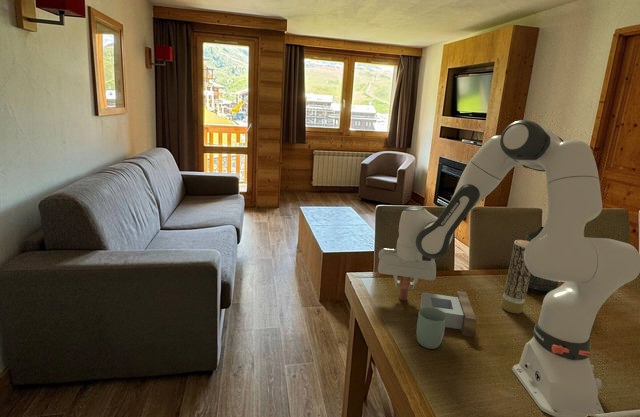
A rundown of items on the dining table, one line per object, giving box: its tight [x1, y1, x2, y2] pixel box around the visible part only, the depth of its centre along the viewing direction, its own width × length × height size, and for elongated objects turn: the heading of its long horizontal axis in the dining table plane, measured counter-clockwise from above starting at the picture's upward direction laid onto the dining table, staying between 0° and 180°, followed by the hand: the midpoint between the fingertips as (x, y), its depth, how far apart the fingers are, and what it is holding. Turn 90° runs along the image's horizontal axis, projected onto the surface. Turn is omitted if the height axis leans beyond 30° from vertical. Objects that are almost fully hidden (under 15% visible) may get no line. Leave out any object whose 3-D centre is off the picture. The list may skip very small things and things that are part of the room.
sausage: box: [398, 276, 411, 301], centre depth 136 cm, size 3×3×9 cm
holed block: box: [419, 292, 464, 330], centre depth 125 cm, size 12×12×5 cm
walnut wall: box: [455, 290, 477, 337], centre depth 124 cm, size 18×3×6 cm, turn 169°
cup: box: [415, 307, 447, 350], centre depth 109 cm, size 8×8×10 cm
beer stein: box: [525, 226, 559, 296], centre depth 148 cm, size 16×19×25 cm
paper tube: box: [501, 239, 531, 314], centre depth 130 cm, size 7×7×25 cm
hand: (404, 286), depth 136 cm, fingers open, 4 cm apart
